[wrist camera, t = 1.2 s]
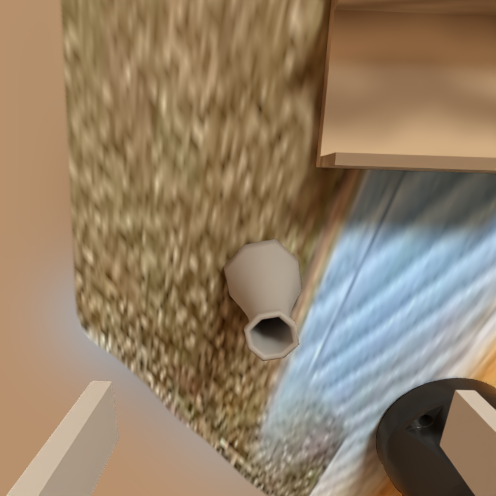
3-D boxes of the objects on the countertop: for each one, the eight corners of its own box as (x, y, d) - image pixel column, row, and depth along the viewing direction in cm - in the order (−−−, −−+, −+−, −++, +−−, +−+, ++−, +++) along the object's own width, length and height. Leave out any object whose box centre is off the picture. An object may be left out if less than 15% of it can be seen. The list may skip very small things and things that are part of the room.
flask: (247, 323, 27) (247, 406, 17) (210, 262, 25) (186, 315, 16) (314, 290, 26) (353, 358, 16) (279, 225, 24) (300, 257, 15)
